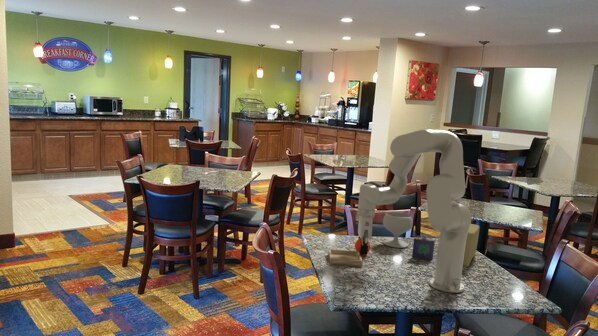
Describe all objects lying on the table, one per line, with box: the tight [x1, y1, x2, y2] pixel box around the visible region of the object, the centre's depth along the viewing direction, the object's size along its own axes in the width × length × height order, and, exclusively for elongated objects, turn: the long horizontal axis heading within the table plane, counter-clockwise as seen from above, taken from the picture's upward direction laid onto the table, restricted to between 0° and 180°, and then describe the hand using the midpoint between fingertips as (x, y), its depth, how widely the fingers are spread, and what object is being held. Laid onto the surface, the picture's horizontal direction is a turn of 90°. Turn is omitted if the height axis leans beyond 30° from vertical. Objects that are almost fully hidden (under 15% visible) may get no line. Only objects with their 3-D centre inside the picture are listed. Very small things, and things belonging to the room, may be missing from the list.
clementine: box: [354, 239, 371, 254], centre depth 207 cm, size 8×7×7 cm
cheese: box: [463, 223, 480, 268], centre depth 210 cm, size 22×10×15 cm, turn 162°
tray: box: [327, 248, 364, 268], centre depth 196 cm, size 13×13×2 cm
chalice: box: [382, 211, 413, 249], centre depth 226 cm, size 14×14×15 cm
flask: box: [411, 234, 436, 261], centre depth 207 cm, size 9×3×11 cm, turn 87°
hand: (362, 250), depth 207 cm, fingers closed on clementine, 8 cm apart
